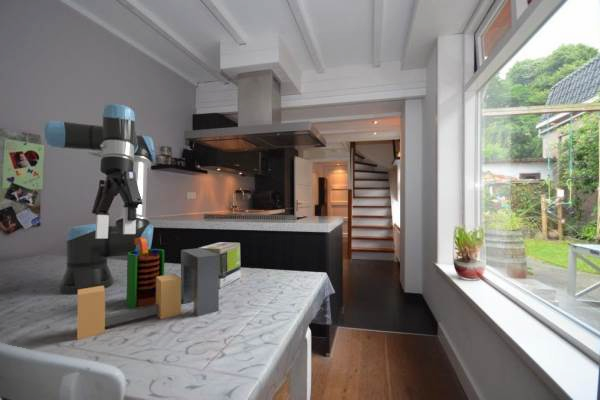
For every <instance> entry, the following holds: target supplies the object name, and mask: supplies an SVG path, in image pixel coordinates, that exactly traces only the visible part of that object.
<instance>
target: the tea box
mask: <svg viewBox="0 0 600 400" xmlns="http://www.w3.org/2000/svg"><path fill="white" fill-rule="evenodd" d="M199 248H201V249H204V250H207V251H210V252H213V253H216V254H218V255H219V289H222V288H224V287H225V286H228V285H229V284H231V283H233V282H235V281H237V280H238V279H241V277H242V271H241V269H242V268H241V243H240V242H232V241H231V242H225V241H224V242H223V241H222V242H221V241H219V242H214V243H211V244H208V245H203V246H201V247H200V246H199Z"/></svg>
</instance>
